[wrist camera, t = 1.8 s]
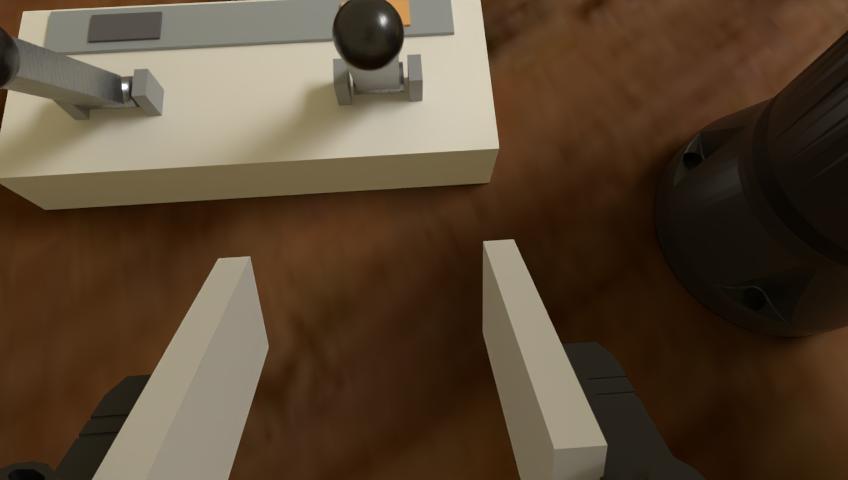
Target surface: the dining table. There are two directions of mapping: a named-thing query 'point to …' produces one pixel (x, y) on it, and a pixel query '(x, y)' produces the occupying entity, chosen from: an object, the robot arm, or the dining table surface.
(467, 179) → the switch unit
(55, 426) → the dining table surface
